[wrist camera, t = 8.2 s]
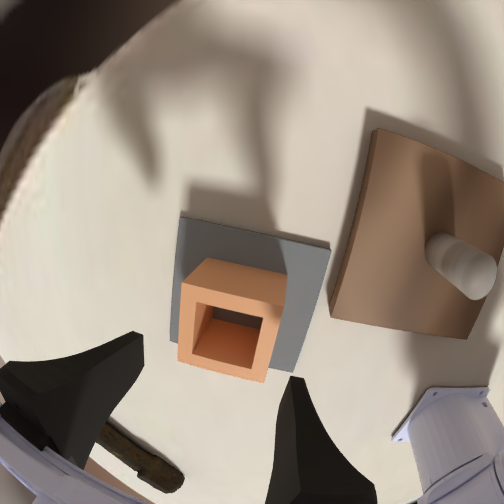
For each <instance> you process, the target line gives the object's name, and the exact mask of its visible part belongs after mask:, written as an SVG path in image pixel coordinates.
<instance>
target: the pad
mask: <svg viewBox="0 0 504 504" xmlns="http://www.w3.org/2000/svg"><path fill="white" fill-rule="evenodd" d="M330 254H331V249H328V248H323V247H319V246H315V245H310V244H306V243H302V242H297V241H293V240H288V239H284V238H279V237H275V236H270V235H266V234H261V233H257V232H252V231H247V230H243V229H238V228H233V227H229V226H224V225H219V224H215V223H210V222H205V221H200V220H195V219H190V218H186V217H181V218H180V221H179V230H178V238H177V248H176V258H175V269H174V280H173V293H172V308H171V327H170V341H172V342H175V343H178V335H179V315H180V299H181V285H182V282H183V281H184V280H185V279H186V278H187V277H188V276H189V275H190V274H191V273H192V272H193V271H194V270H195V269H196V268H197V267H198V266H199V265H200V264H201V263H202V262H203V261H204V260H205V259H206V258H207V257H208V258H212V259H217V260H221V261H226V262H231V263H235V264H240V265H244V266H249V267H254V268H258V269H263V270H268V271H273V272H277V273H282V274H287V275H288V276H287V286H286V295H285V304H284V309H283V313H282V317H281V321H280V325H279V329H278V333H277V337H276V340H275V344H274V348H273V352H272V355H271V359H270V363H269V366H268V368H273V369H277V370H282V371H287V372H292V373H293V371H294V368H295V365H296V362H297V360H298V357H299V354H300V351H301V348H302V345H303V342H304V339H305V337H306V334H307V331H308V328H309V324H310V321H311V318H312V315H313V312H314V309H315V306H316V302H317V299H318V296H319V293H320V289H321V286H322V282H323V279H324V276H325V272H326V269H327V265H328V261H329V258H330ZM213 318H214V319H218V320H222V321H226V322H230V323H234V324H238V325H242V326H247V327H251V328H256V329H260V330H261V326H262V321H263V317H258V316H254V315H249V314H245V313H240V312H236V311H232V310H228V309H223V308H219V307H215V306H214V310H213Z"/></svg>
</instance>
